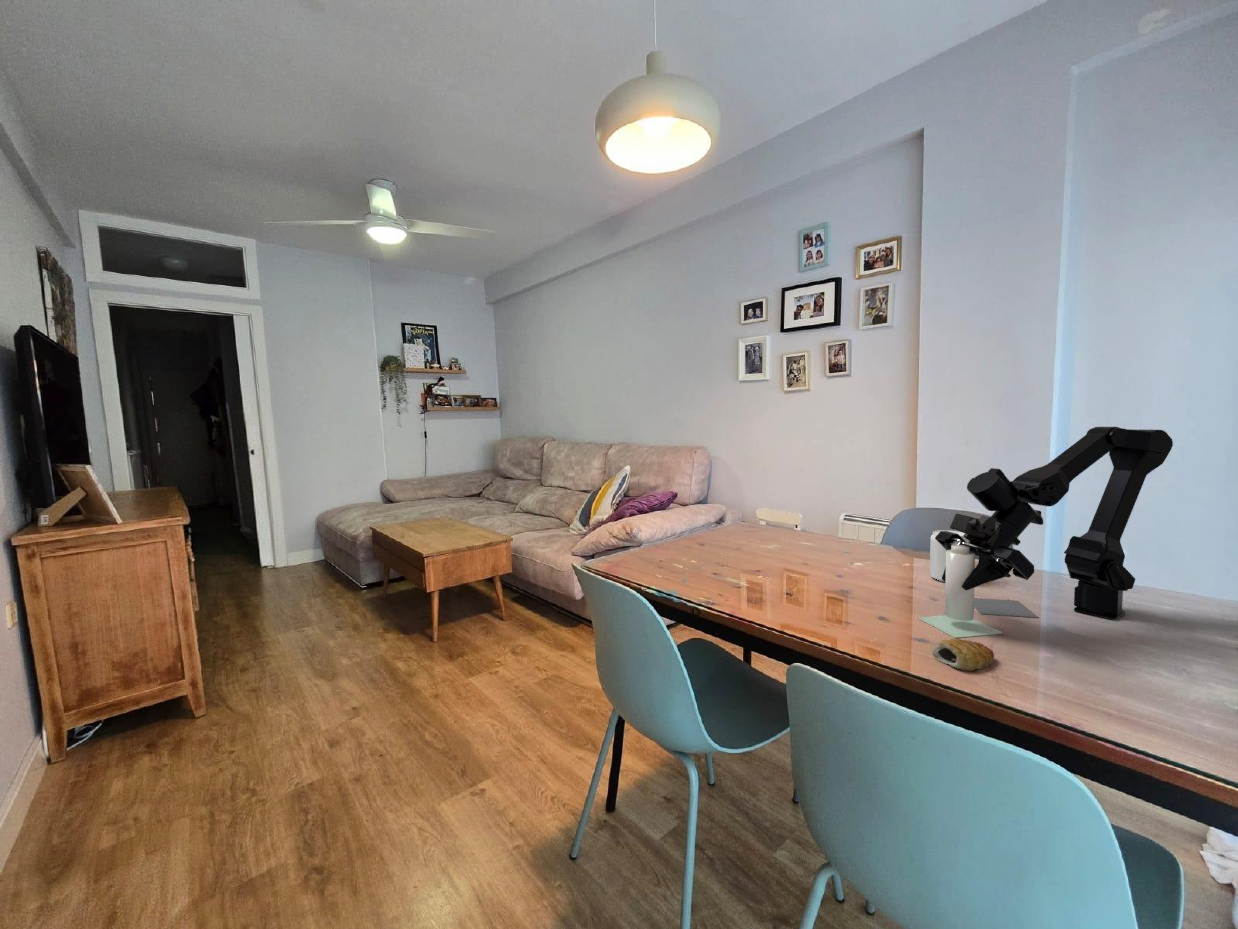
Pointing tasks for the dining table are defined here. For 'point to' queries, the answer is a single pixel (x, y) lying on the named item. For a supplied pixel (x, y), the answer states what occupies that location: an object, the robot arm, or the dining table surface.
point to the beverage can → (939, 555)
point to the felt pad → (1002, 608)
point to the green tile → (959, 627)
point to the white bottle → (959, 583)
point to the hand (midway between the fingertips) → (953, 584)
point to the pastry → (963, 654)
